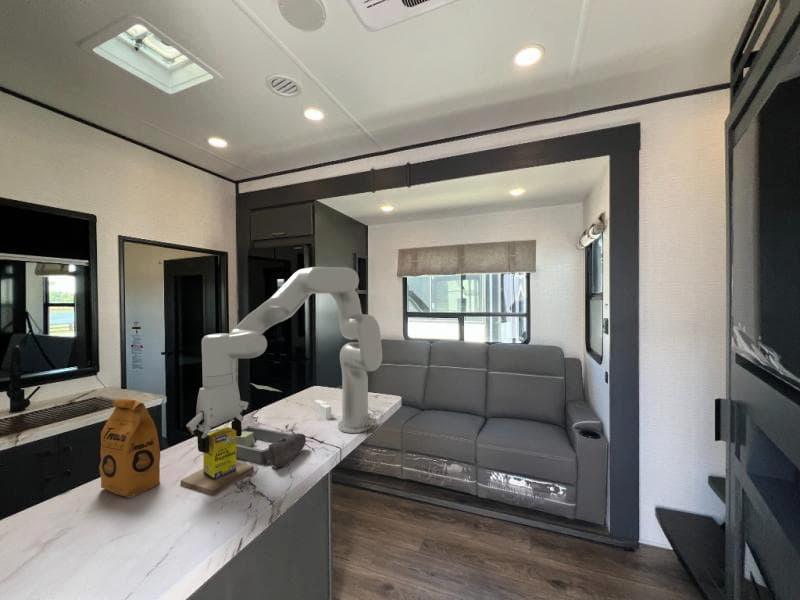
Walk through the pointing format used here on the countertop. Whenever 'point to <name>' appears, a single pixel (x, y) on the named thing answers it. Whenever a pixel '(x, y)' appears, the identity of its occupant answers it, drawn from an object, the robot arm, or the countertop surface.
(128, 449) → the coffee package
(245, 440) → the olive block
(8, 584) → the countertop surface
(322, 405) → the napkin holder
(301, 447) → the perforated stone tool
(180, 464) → the countertop surface
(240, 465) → the pad
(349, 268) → the robot arm
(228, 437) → the supplement box
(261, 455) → the bin
